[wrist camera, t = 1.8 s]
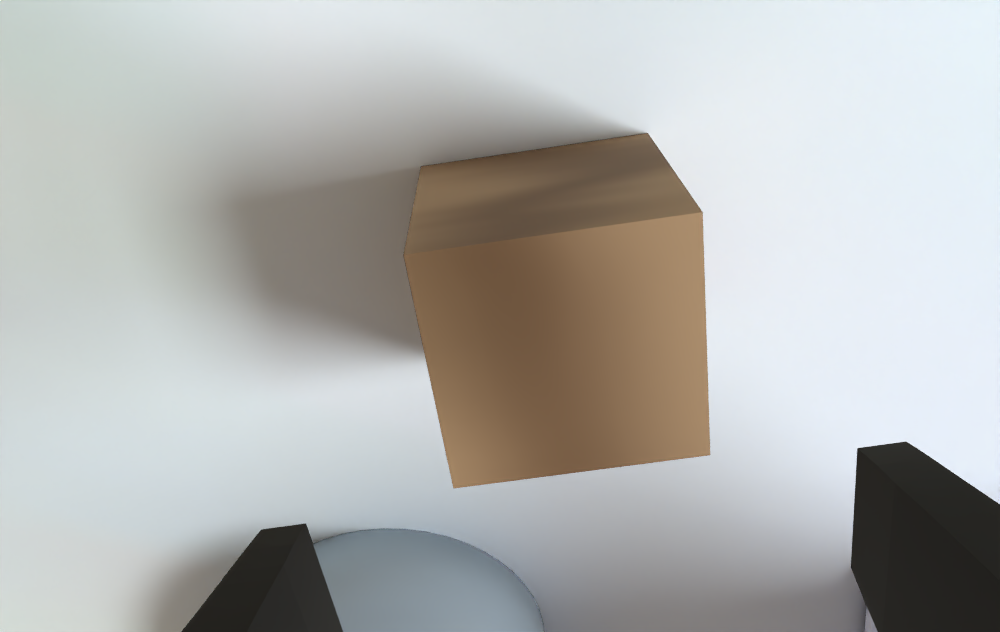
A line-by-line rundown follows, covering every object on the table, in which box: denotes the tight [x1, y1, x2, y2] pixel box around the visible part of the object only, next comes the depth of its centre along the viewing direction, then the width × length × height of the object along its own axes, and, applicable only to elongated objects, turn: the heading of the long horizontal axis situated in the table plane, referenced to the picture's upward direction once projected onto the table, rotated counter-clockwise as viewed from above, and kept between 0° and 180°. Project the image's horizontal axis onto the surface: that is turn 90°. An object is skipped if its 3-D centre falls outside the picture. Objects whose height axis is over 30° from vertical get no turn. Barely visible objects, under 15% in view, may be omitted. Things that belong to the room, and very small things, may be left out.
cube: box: [403, 133, 710, 488], centre depth 17 cm, size 5×5×5 cm
